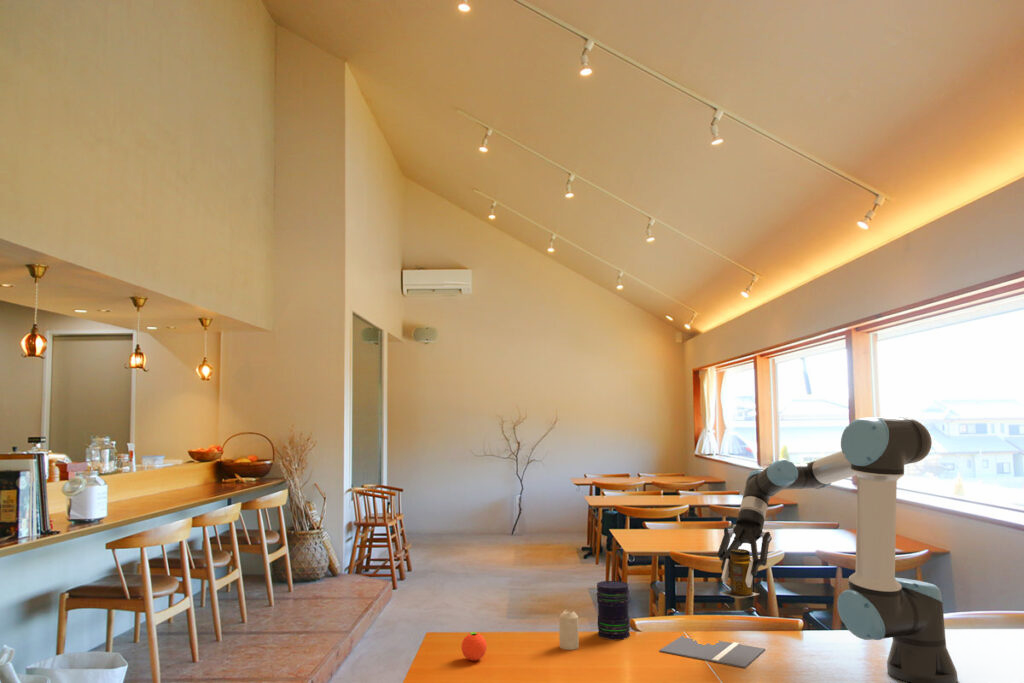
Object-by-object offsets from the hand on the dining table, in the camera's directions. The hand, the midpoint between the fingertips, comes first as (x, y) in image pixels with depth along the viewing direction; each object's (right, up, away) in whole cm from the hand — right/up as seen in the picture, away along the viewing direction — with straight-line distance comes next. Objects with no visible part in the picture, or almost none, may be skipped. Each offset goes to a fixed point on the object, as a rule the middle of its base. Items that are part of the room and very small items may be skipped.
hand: (735, 582), depth 188 cm
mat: (-6, -20, +2) cm, 21 cm away
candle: (-46, -21, +6) cm, 51 cm away
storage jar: (-31, -23, +18) cm, 43 cm away
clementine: (-73, -20, -3) cm, 76 cm away
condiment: (+2, -4, +3) cm, 5 cm away
